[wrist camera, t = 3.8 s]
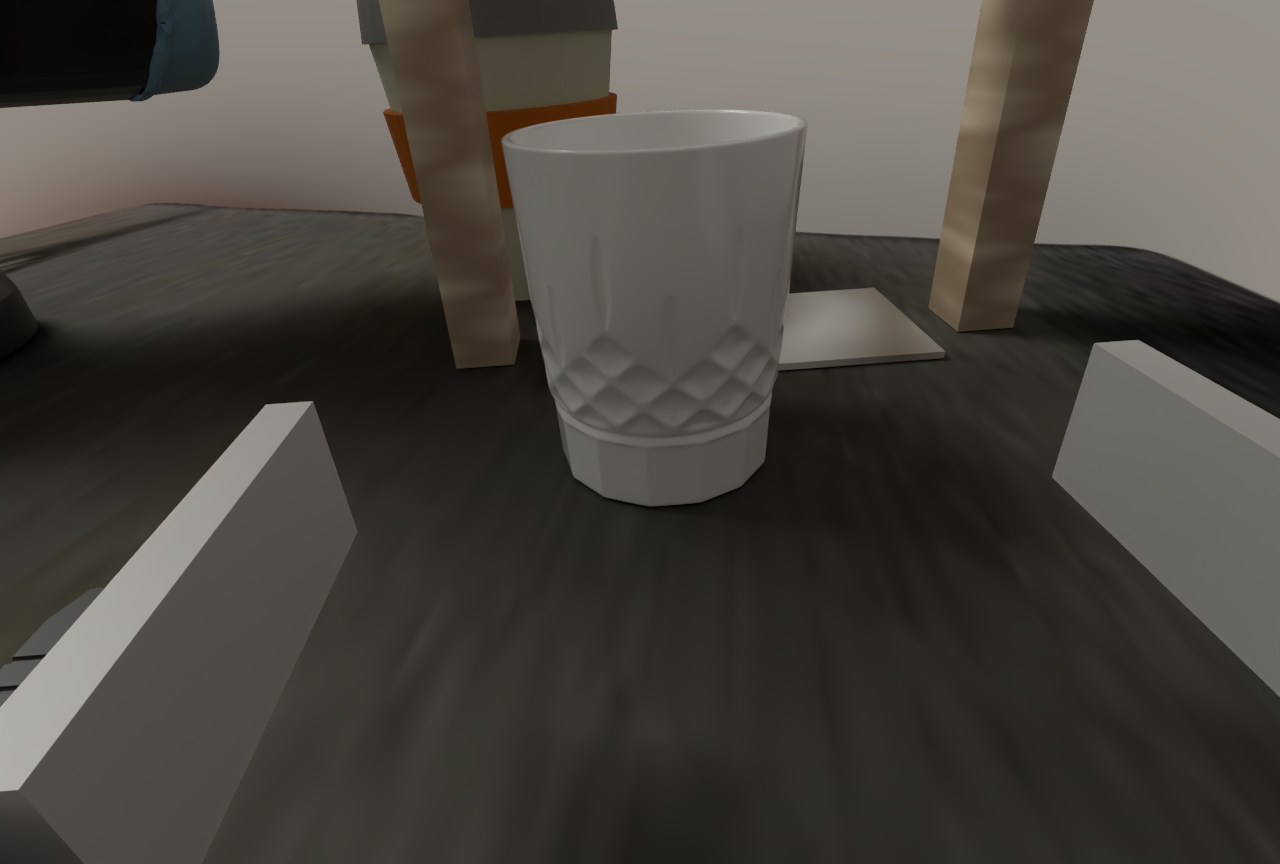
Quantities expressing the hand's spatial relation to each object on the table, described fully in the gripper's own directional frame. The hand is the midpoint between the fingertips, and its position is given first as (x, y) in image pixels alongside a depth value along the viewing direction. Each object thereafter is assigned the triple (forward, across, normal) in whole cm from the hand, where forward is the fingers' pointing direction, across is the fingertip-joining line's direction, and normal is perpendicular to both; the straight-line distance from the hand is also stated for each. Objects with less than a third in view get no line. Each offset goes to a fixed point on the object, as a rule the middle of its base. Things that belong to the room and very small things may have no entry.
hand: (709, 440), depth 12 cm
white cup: (+9, 0, -6) cm, 11 cm away
